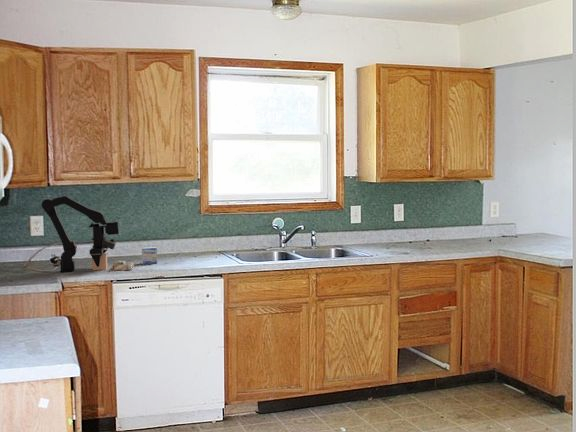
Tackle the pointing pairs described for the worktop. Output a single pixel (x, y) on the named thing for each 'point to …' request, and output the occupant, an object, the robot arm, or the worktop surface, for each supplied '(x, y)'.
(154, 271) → the worktop surface
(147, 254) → the medicine box
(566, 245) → the worktop surface
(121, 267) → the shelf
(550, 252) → the worktop surface
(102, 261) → the box
